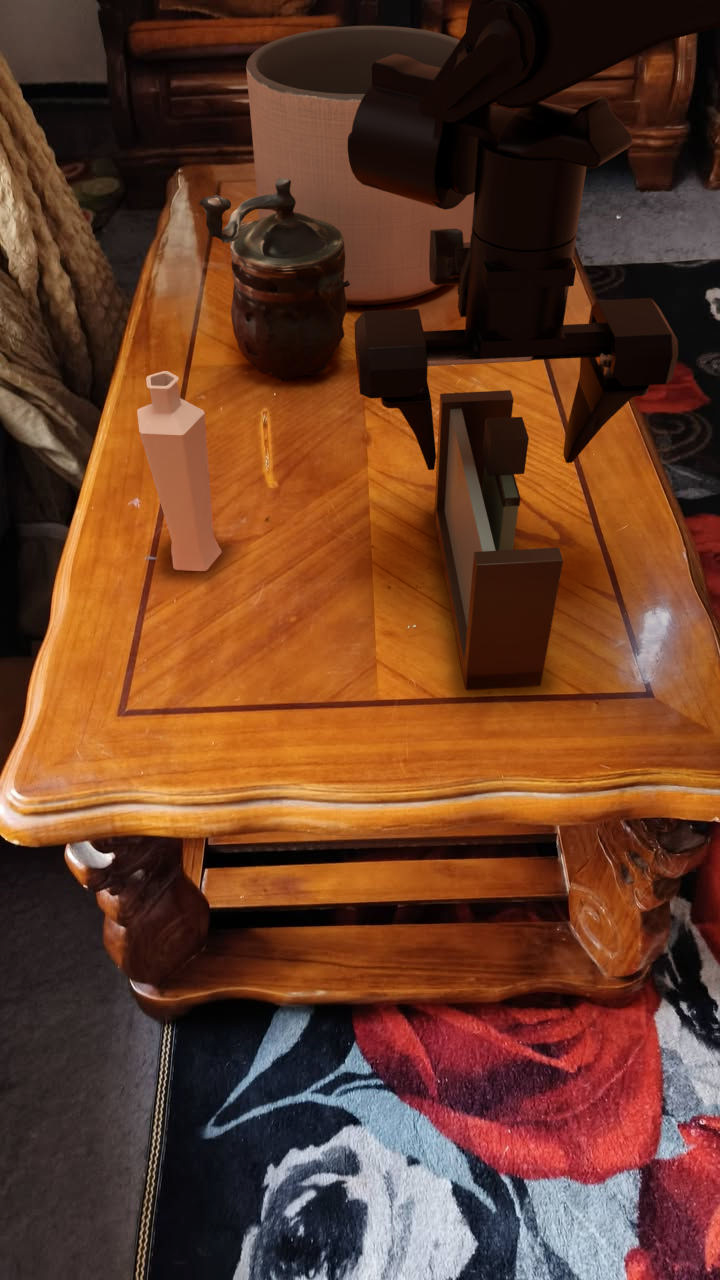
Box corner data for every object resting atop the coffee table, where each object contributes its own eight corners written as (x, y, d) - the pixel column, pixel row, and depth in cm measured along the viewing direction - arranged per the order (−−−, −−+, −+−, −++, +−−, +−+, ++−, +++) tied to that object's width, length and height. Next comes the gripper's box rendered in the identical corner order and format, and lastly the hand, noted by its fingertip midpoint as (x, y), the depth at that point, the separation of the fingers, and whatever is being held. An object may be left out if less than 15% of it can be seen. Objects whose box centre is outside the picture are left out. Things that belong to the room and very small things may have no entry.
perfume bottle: (230, 536, 74) (204, 361, 63) (219, 575, 71) (189, 398, 60) (172, 533, 74) (136, 359, 63) (158, 571, 71) (118, 395, 60)
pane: (500, 529, 71) (516, 395, 63) (517, 595, 66) (536, 460, 58) (468, 530, 71) (479, 397, 63) (483, 597, 66) (497, 462, 58)
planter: (448, 213, 114) (457, 18, 99) (488, 304, 98) (506, 88, 84) (258, 227, 112) (239, 30, 98) (269, 321, 97) (248, 104, 82)
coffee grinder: (187, 393, 88) (153, 192, 75) (263, 319, 97) (244, 129, 84) (311, 424, 84) (298, 217, 71) (378, 344, 93) (377, 148, 80)
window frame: (497, 512, 75) (510, 389, 67) (540, 685, 63) (563, 560, 55) (434, 516, 75) (439, 393, 67) (465, 690, 63) (476, 565, 55)
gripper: (652, 165, 58) (608, 390, 70) (346, 178, 58) (352, 402, 69) (709, 246, 51) (649, 483, 62) (357, 261, 50) (362, 498, 61)
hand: (499, 462), depth 64 cm, fingers open, 9 cm apart
